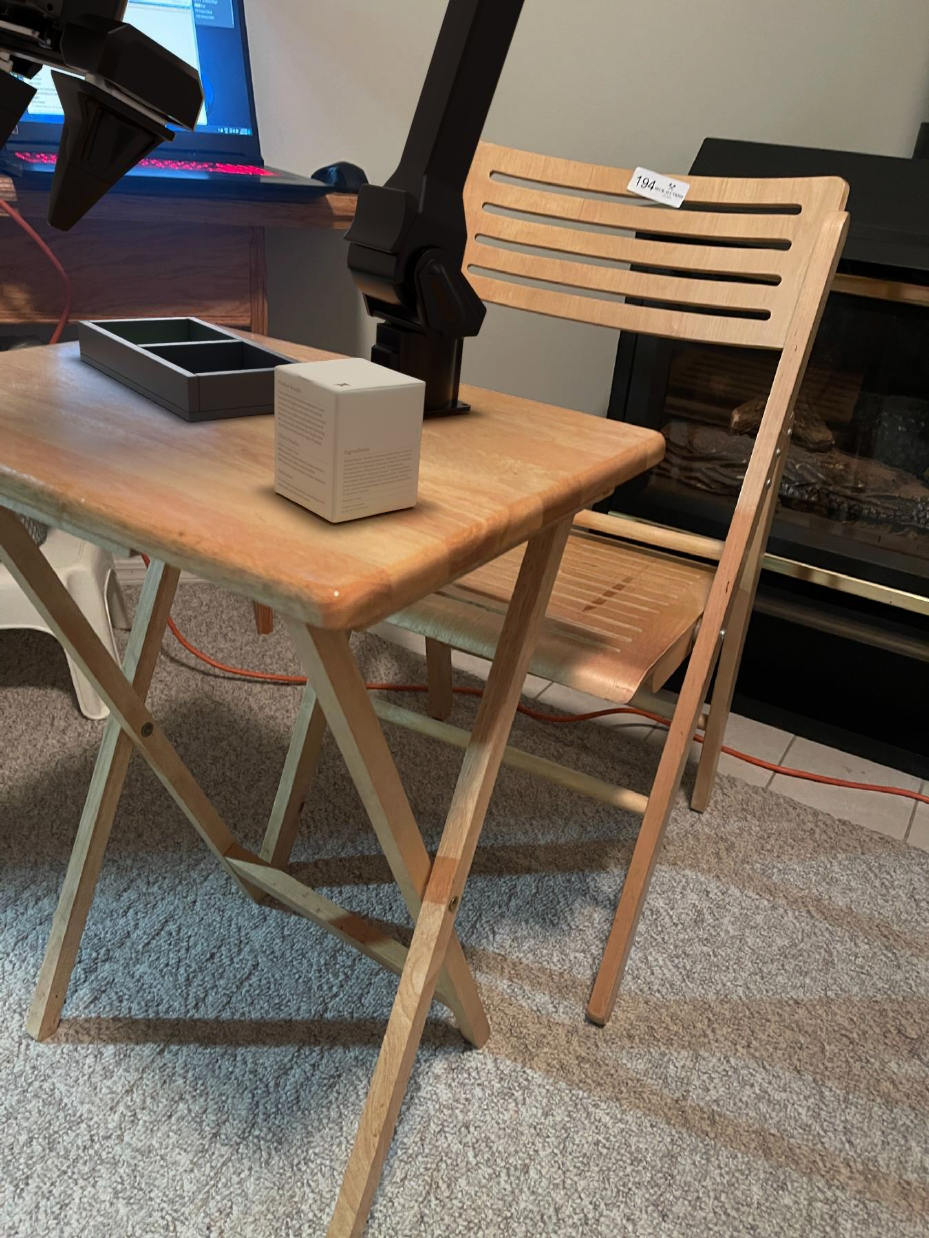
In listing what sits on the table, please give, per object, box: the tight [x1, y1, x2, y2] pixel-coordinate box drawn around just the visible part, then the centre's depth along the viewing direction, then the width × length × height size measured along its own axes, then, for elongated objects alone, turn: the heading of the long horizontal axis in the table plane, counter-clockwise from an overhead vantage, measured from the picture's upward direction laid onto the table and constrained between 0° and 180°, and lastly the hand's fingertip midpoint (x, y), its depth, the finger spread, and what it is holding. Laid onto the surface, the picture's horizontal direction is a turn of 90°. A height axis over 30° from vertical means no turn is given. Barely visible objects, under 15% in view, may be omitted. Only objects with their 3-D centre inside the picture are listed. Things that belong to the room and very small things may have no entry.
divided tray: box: [76, 316, 304, 423], centre depth 73 cm, size 10×19×3 cm, turn 41°
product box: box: [274, 357, 425, 523], centre depth 52 cm, size 6×6×7 cm
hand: (8, 207), depth 52 cm, fingers open, 9 cm apart
